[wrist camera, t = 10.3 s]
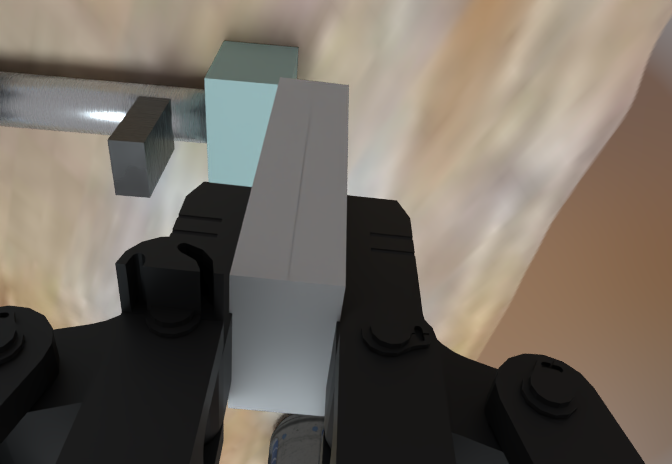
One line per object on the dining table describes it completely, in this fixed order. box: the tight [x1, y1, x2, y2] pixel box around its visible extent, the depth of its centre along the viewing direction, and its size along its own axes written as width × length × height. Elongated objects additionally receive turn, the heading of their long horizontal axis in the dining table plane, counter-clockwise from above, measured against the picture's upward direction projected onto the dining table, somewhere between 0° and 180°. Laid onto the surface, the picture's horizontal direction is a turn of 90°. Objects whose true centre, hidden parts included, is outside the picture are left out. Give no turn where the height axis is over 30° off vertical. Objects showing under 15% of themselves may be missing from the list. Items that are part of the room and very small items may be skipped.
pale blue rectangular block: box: [204, 41, 298, 187], centre depth 40 cm, size 5×9×7 cm, turn 175°
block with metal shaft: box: [0, 72, 207, 198], centre depth 38 cm, size 22×4×10 cm, turn 85°
